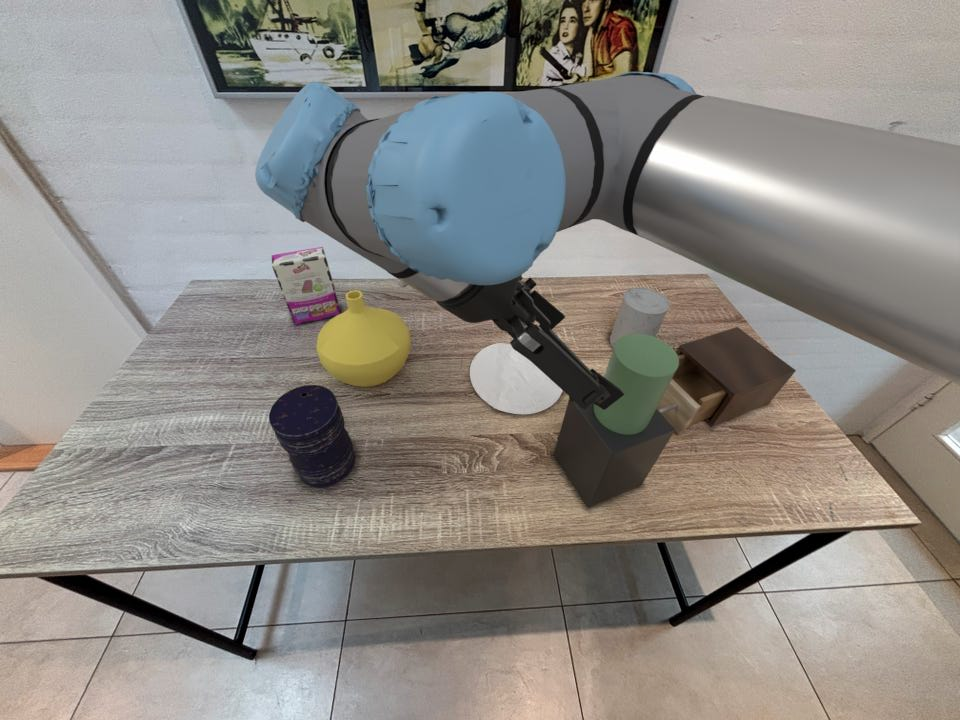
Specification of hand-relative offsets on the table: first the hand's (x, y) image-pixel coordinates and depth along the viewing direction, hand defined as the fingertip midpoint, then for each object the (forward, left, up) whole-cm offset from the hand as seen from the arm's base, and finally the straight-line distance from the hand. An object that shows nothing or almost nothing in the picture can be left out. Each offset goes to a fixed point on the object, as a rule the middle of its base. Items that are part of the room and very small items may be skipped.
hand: (581, 357), depth 48 cm
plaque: (+24, -7, -30) cm, 39 cm away
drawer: (+5, -32, -29) cm, 44 cm away
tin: (-1, -10, -14) cm, 17 cm away
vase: (+38, +21, -30) cm, 53 cm away
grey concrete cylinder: (+24, -37, -30) cm, 53 cm away
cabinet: (+5, -44, -30) cm, 53 cm away
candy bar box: (+61, +29, -30) cm, 74 cm away
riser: (-1, -10, -30) cm, 31 cm away
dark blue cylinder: (+18, +33, -30) cm, 48 cm away
